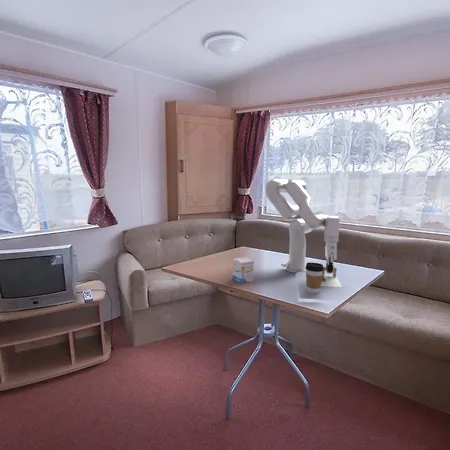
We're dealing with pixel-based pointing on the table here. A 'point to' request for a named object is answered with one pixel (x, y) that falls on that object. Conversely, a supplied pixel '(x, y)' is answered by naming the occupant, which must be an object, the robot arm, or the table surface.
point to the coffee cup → (314, 277)
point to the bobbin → (323, 275)
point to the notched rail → (333, 271)
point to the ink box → (243, 269)
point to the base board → (331, 281)
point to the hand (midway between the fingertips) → (329, 270)
